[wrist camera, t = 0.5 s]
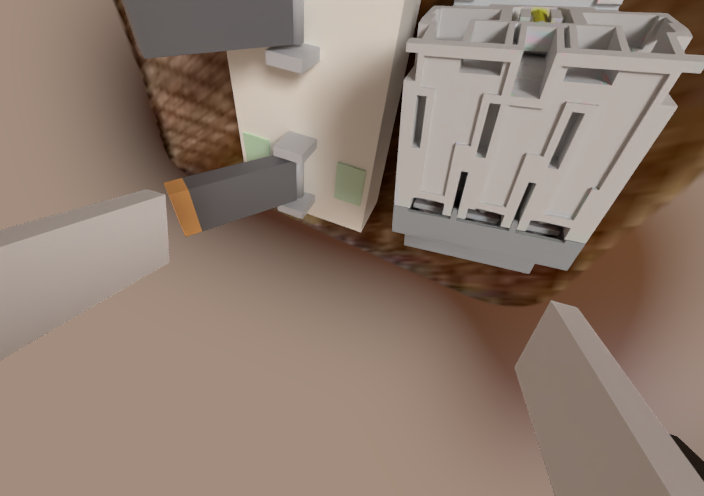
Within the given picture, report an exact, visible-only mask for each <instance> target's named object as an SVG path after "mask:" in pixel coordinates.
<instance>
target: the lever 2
mask: <svg viewBox="0 0 704 496" xmlns="http://www.w3.org/2000/svg"><path fill="white" fill-rule="evenodd" d="M164 186H165V188H166V191H167V193H168V196H169V199H170V201H171V204H172V206H173V209H174V211H175V214H176V216H177V219H178V221H179V223H180V226H181V228H182V230H183V232H184V234H185V236H186V237H187V236H190V235H193V234H196V233H198V232H202V231H205V230H208V229H211V228H214V227H217V226H220V225H223V224H226V223H229V222H232V221H235V220H238V219H241V218H244V217H247V216H250V215H253V214H256V213H259V212H262V211H266V210H269V209H272V208H275V207H278V206H281V205H284V204H287V203H290V202H293V201H296V200H297V198H302V197H303V196H304V163H303V164H302V165H301V164H298V163H295V162H292V161H289V160H286V159H283V158H280V157H277V156H273V155H271V156H267V157H263V158H259V159H255V160H251V161H247V162H243V163H239V164H235V165H231V166H228V167H224V168H220V169H216V170H212V171H208V172H204V173H200V174H196V175H192V176H188V177H184V178H180V179H176V180H172V181H168V182H164Z"/></svg>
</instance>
